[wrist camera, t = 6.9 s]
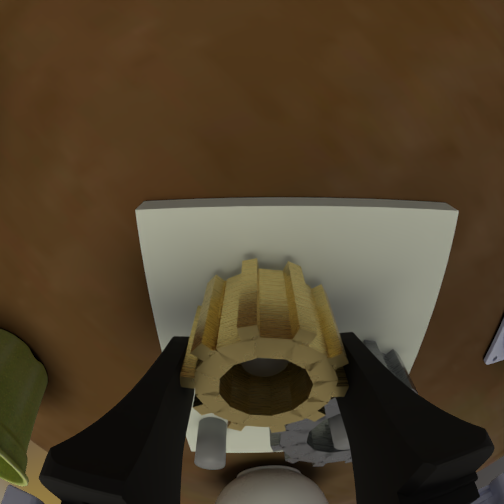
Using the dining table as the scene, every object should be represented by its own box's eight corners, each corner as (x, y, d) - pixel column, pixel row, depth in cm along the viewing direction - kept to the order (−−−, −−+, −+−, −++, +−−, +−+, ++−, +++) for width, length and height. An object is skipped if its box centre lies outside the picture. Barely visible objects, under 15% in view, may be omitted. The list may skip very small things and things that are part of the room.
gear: (419, 333, 15) (442, 371, 12) (382, 420, 19) (393, 453, 16) (270, 345, 15) (274, 392, 12) (266, 432, 19) (268, 470, 16)
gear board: (445, 202, 13) (507, 243, 9) (372, 428, 21) (387, 477, 17) (143, 201, 13) (99, 247, 9) (192, 438, 21) (186, 491, 16)
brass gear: (342, 266, 12) (372, 331, 9) (314, 365, 15) (325, 433, 11) (199, 252, 12) (176, 316, 8) (197, 356, 14) (184, 425, 11)
